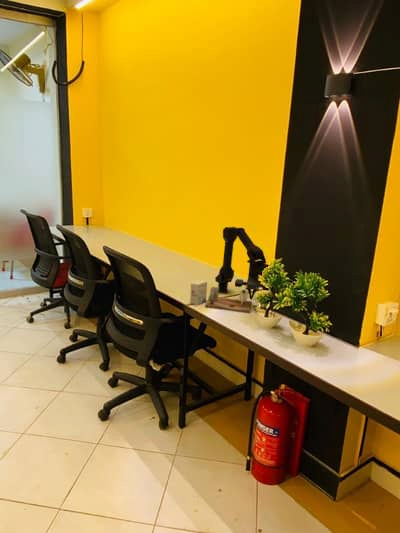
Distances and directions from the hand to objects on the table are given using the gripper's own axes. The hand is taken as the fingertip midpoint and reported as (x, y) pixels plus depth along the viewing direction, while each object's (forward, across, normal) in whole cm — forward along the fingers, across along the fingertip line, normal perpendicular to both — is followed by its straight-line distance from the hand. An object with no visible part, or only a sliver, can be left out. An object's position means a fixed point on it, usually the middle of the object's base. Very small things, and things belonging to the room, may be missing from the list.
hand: (250, 299), depth 215 cm
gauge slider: (+2, -4, -3) cm, 6 cm away
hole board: (+4, -11, -4) cm, 13 cm away
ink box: (+4, -28, -5) cm, 29 cm away
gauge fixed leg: (+2, -20, -3) cm, 21 cm away
